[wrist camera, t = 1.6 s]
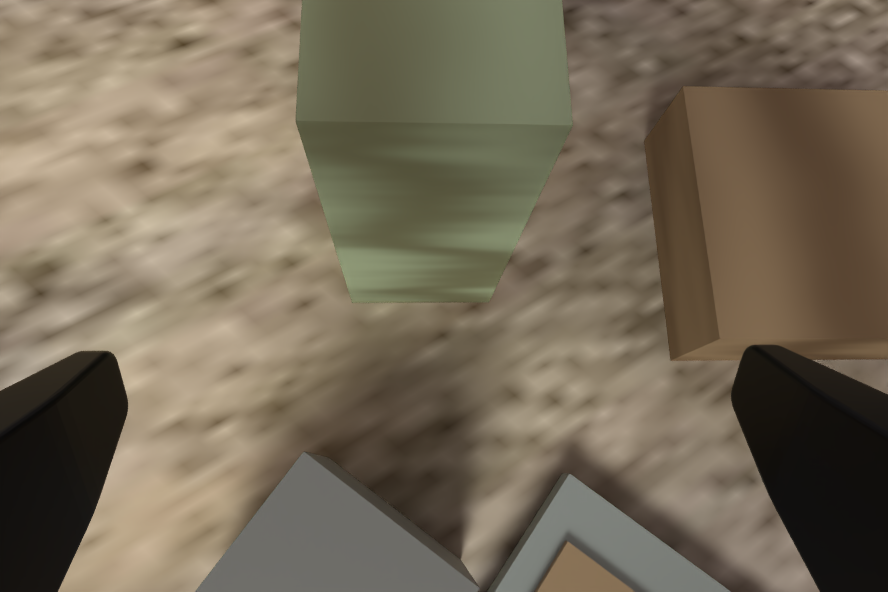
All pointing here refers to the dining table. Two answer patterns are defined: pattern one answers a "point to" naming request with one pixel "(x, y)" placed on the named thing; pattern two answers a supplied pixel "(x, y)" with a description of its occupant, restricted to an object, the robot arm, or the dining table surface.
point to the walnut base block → (772, 221)
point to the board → (594, 551)
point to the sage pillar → (430, 136)
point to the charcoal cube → (333, 542)
